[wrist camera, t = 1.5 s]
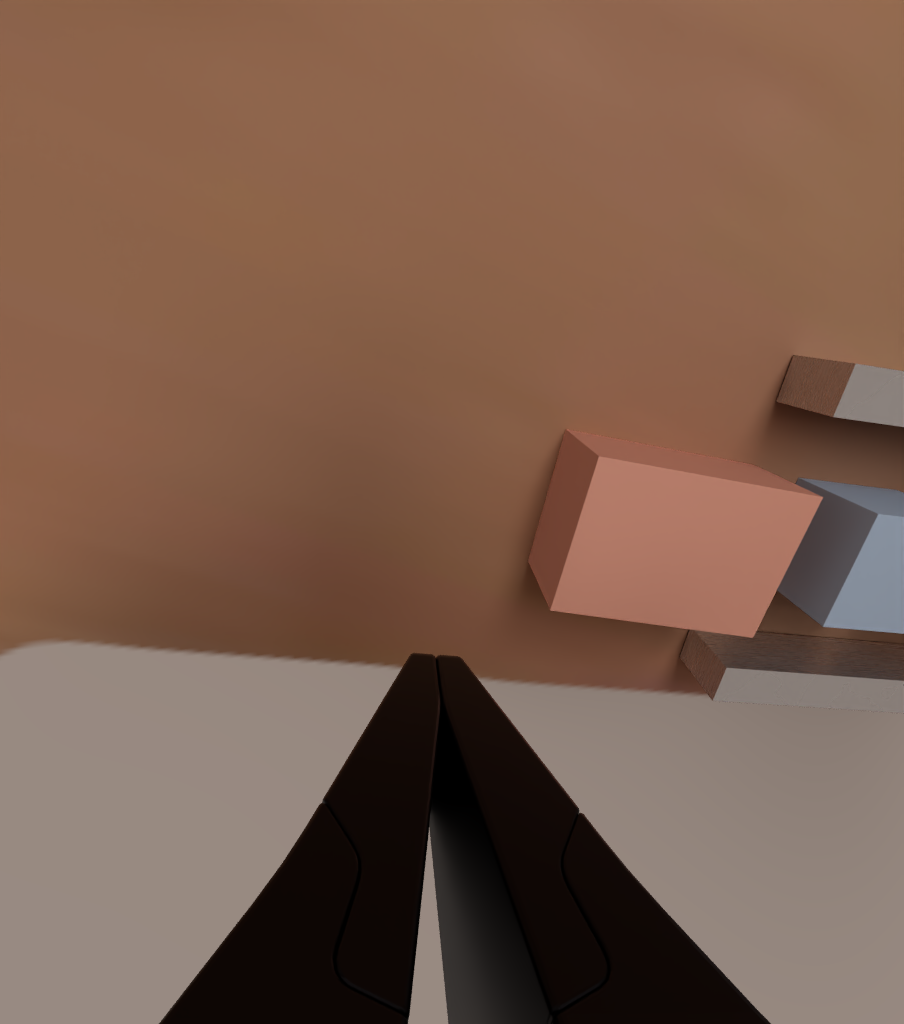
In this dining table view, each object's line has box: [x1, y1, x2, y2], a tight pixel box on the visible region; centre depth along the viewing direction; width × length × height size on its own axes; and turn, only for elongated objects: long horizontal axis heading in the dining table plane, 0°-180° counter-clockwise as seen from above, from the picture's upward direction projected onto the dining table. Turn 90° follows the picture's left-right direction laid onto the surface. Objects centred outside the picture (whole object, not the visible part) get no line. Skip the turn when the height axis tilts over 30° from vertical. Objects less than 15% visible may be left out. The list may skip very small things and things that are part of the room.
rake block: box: [528, 429, 823, 638], centre depth 17 cm, size 7×5×4 cm
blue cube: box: [777, 478, 904, 634], centre depth 18 cm, size 4×4×4 cm
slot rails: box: [680, 355, 904, 713], centre depth 18 cm, size 12×12×2 cm
